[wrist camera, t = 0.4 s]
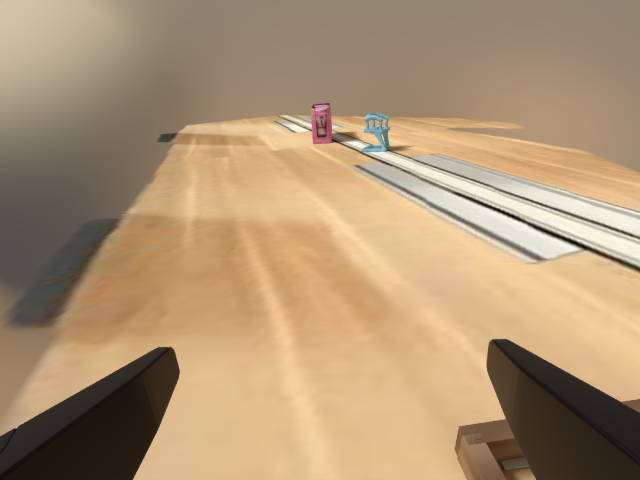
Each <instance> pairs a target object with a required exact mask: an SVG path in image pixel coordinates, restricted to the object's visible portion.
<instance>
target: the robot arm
mask: <svg viewBox="0 0 640 480" xmlns="http://www.w3.org/2000/svg"><path fill="white" fill-rule="evenodd" d="M487 371H488V375H489V377H490V380H491V382H492V385H493V387H494V390H495V392H496V395H497V397H498V400H499V402H500V405H501V407H502V410H503V412H504V415H505V417H506V420H507V422H508V425H509V427H510V429H511V431H512V433H513V435H514V437H515V439H516V441H517V443H518V445H519V447H520V449H521V451H522V453H523V455H524V457H525V459H526V461H527V463H528V464H529V466H530V468H531V470H532V472H533V474H534V476H535V478H536V480H640V412H638V411H636V410H635V409H633V408H631V407H629V406H627V405H626V404H624V403H622V402H620V401H618V400H617V399H615V398H613V397H611V396H609V395H607V394H606V393H604V392H602V391H600V390H598V389H597V388H595V387H593V386H591V385H589V384H587V383H586V382H584V381H582V380H580V379H578V378H577V377H575V376H573V375H571V374H569V373H568V372H566V371H564V370H562V369H560V368H558V367H557V366H555V365H553V364H551V363H549V362H548V361H546V360H544V359H542V358H540V357H539V356H537V355H535V354H533V353H531V352H529V351H528V350H526V349H524V348H522V347H520V346H519V345H517V344H515V343H513V342H511V341H510V340H507V339H492V340H491V341H490V342H489V346H488V355H487ZM179 374H180V370H179V366H178V362H177V358H176V354H175V351H174V349H173V348H172V347H158V348H156V349H154V350H152V351H151V352H149V353H147V354H145V355H143V356H142V357H140V358H138V359H136V360H135V361H133V362H131V363H129V364H128V365H126V366H124V367H122V368H120V369H119V370H117V371H115V372H113V373H112V374H110V375H108V376H106V377H105V378H103V379H101V380H99V381H97V382H96V383H94V384H92V385H90V386H89V387H87V388H85V389H83V390H82V391H80V392H78V393H76V394H74V395H73V396H71V397H69V398H67V399H66V400H64V401H62V402H60V403H59V404H57V405H55V406H53V407H51V408H50V409H48V410H46V411H44V412H43V413H41V414H39V415H37V416H36V417H34V418H32V419H30V420H28V421H27V422H25V423H23V424H21V425H20V426H18V428H17V429H16V428H15V429H12V430H11V431H9V432H7V433H5V434H4V435H2V436H0V480H133V478H134V476H135V474H136V472H137V471H138V469H139V467H140V465H141V463H142V461H143V459H144V457H145V455H146V453H147V451H148V449H149V447H150V445H151V443H152V441H153V439H154V437H155V435H156V433H157V431H158V429H159V426H160V424H161V422H162V419H163V417H164V414H165V412H166V409H167V406H168V404H169V401H170V399H171V396H172V394H173V391H174V389H175V386H176V384H177V381H178V378H179Z"/></svg>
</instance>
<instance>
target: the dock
mask: <svg viewBox="0 0 640 480" xmlns="http://www.w3.org/2000/svg"><path fill="white" fill-rule="evenodd" d="M622 403H624V404H626V405H627V406H629V407H631V408H633V409H635V410H636V411H638V412H640V399H638V400H631V401H624V402H622ZM455 451H456V453H457V455H458V461H459V463H460V465H461V467H462V469H463V472H464V474H465V476H466V478H467V480H507V479H506V478H505V476H504V474H503V472H502V471H501V469H500V467H499V465H498V463H499V462H500V463H501V465H502V466H503V468H504V470H511V469H517V468H524V467H530V466H529V464H528V463H527V461H526V459H525V457H524V455H523V453H522V451H521V449H520V447H519V445H518V443H517V441H516V439H515V437H514V435H513V433H512V431H511V429H510V427H509V425H508V422H507V420H506V419H505V420H499V421H492V422H485V423H479V424H472V425H465V426H459V430H458V435H457V440H456V445H455Z"/></svg>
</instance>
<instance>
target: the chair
mask: <svg viewBox="0 0 640 480" xmlns="http://www.w3.org/2000/svg"><path fill="white" fill-rule="evenodd" d="M379 117H383V118H385V119H386V122H385V127H382V121H383V119H381V118H379ZM365 120H366V124H367V127H366V129H365V130H364V133H371V134H374V135H375V136H376V137H377V138H378V140H379V142H380V144H381V146H378V145H369V146H367V147H365V148H363V149H361V150H362V152H386V151H387V150H390V147H389V141H388V130H390V127H388V125H387V124H388V120H389V117H387V116H385V115H383V114H381V113H376V114H374V113H370V114H368V115H367V116H366V118H365ZM370 120H372V121H373V125H372V127H371V128H369V124H368V121H370ZM374 120H377V121H379V122H380V126H379V127H375V121H374ZM381 134H383V136H384V141H385V144H384V142H383V139H382V137H381ZM369 148H372V149H369Z"/></svg>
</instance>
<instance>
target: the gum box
mask: <svg viewBox="0 0 640 480" xmlns="http://www.w3.org/2000/svg"><path fill="white" fill-rule="evenodd" d="M311 120H312V136H313V144H321V143H332V124H331V108H330V103H324V104H313V106H312V108H311Z"/></svg>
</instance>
